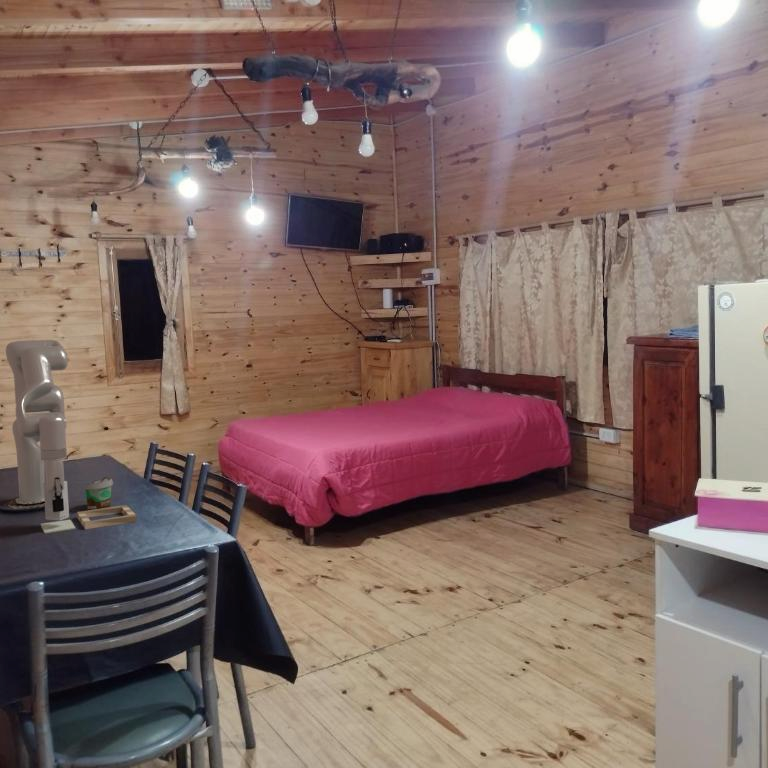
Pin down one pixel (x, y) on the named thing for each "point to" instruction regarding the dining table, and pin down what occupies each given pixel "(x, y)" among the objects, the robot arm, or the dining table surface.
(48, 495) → the skincare box
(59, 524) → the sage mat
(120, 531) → the dining table surface
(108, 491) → the food container
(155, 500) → the dining table surface
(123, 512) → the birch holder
